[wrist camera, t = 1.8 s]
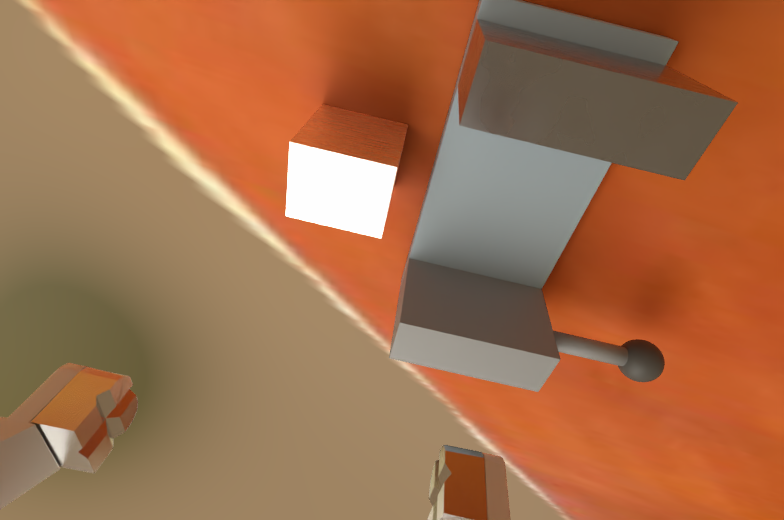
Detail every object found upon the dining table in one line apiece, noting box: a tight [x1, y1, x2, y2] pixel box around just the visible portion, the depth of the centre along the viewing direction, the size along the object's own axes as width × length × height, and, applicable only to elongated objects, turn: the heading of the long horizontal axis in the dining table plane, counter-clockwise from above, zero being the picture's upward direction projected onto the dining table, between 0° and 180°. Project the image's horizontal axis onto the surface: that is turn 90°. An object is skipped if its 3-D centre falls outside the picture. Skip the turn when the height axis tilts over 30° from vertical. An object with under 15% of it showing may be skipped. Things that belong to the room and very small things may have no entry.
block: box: [286, 104, 408, 238], centre depth 23 cm, size 4×5×6 cm
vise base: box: [389, 0, 678, 392], centre depth 22 cm, size 18×17×8 cm
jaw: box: [458, 19, 738, 180], centre depth 18 cm, size 3×9×6 cm, turn 79°
